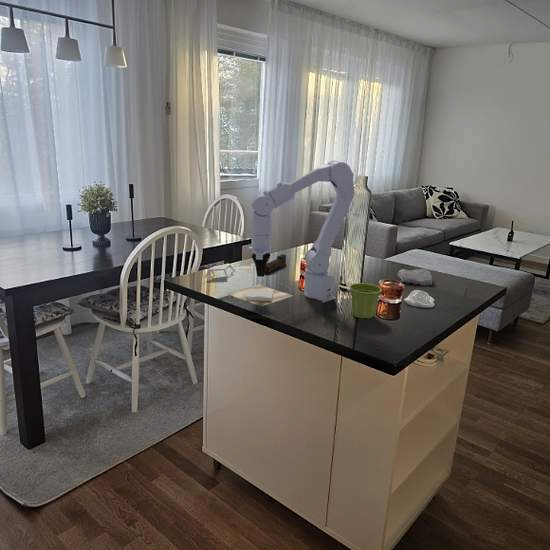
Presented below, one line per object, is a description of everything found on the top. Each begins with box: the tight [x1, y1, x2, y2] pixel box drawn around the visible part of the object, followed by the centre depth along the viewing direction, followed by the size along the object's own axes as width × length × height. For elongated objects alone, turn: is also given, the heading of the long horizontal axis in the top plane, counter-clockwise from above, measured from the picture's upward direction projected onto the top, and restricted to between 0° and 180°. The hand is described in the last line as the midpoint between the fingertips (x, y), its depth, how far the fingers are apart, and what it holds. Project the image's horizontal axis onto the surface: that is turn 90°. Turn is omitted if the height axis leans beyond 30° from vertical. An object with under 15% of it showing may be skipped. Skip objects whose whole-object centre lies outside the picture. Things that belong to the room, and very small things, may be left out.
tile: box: [246, 289, 273, 301], centre depth 154 cm, size 8×1×8 cm
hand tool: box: [265, 253, 287, 275], centre depth 190 cm, size 19×4×5 cm, turn 150°
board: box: [226, 284, 294, 307], centre depth 156 cm, size 16×15×1 cm
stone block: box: [397, 268, 433, 286], centre depth 180 cm, size 12×5×10 cm
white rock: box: [403, 289, 436, 309], centre depth 156 cm, size 10×4×10 cm
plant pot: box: [348, 282, 383, 320], centre depth 143 cm, size 9×9×9 cm
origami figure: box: [204, 264, 236, 280], centre depth 174 cm, size 12×8×5 cm
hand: (260, 276), depth 154 cm, fingers closed
